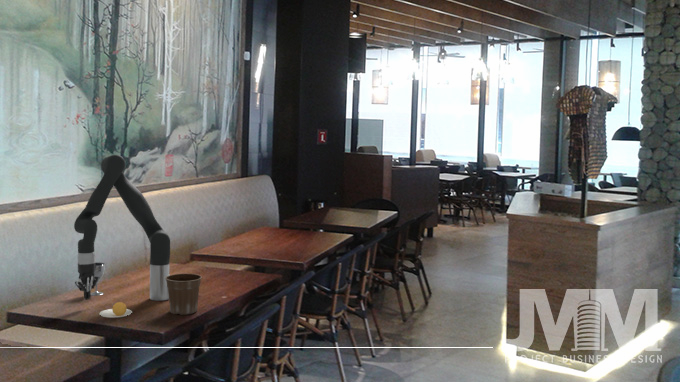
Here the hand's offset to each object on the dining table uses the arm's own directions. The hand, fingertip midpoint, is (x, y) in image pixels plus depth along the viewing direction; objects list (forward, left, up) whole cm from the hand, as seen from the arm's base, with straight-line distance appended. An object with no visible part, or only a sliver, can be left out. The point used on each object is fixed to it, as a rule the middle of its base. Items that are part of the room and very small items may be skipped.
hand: (87, 299), depth 321 cm
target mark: (-13, +10, -4) cm, 17 cm away
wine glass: (-2, -27, -5) cm, 27 cm away
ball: (-14, +14, -1) cm, 20 cm away
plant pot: (-42, +12, -5) cm, 44 cm away
